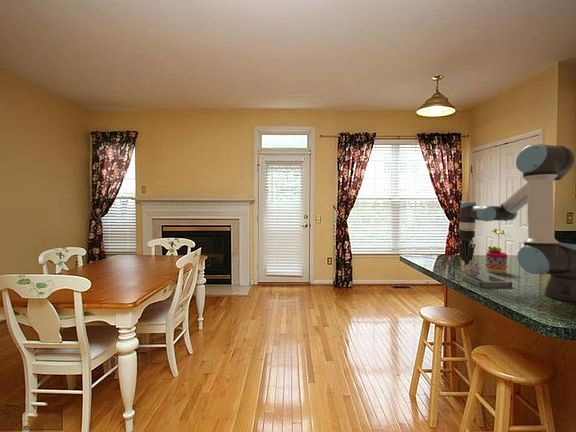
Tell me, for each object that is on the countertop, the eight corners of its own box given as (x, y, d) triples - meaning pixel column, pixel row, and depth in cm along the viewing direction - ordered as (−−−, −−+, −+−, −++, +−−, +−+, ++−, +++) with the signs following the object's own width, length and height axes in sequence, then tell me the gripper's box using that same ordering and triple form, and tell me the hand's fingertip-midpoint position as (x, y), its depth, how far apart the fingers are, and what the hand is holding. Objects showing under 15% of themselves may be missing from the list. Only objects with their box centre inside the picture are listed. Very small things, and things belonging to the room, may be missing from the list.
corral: (512, 287, 155) (512, 282, 155) (480, 287, 155) (480, 282, 155) (491, 279, 171) (491, 275, 170) (462, 279, 170) (462, 274, 170)
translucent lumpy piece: (474, 284, 174) (487, 272, 168) (459, 278, 174) (471, 266, 168) (470, 273, 182) (482, 261, 176) (456, 267, 182) (468, 255, 176)
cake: (489, 269, 198) (490, 244, 198) (509, 272, 190) (510, 246, 190) (482, 271, 192) (483, 245, 191) (503, 274, 184) (504, 248, 183)
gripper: (481, 231, 173) (479, 275, 174) (467, 228, 186) (465, 269, 187) (467, 231, 173) (465, 275, 174) (454, 228, 186) (452, 269, 187)
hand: (465, 272), depth 181 cm, fingers closed
